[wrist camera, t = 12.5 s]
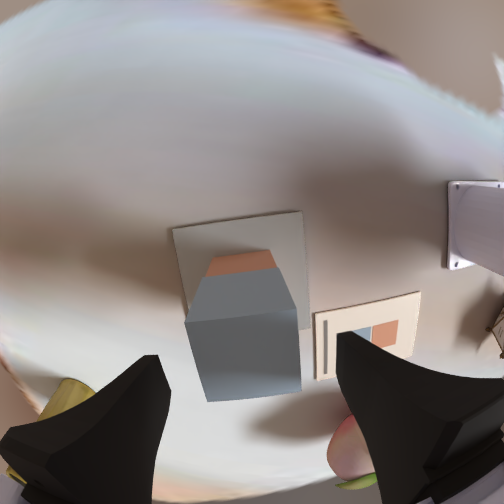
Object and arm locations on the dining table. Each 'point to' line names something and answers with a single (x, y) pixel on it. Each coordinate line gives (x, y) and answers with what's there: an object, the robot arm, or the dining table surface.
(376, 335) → the card
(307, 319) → the plate
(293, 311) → the brick blue
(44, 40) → the dining table surface
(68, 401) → the vase
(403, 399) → the robot arm
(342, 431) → the decorative fruit
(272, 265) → the brick terracotta
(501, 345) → the game die
